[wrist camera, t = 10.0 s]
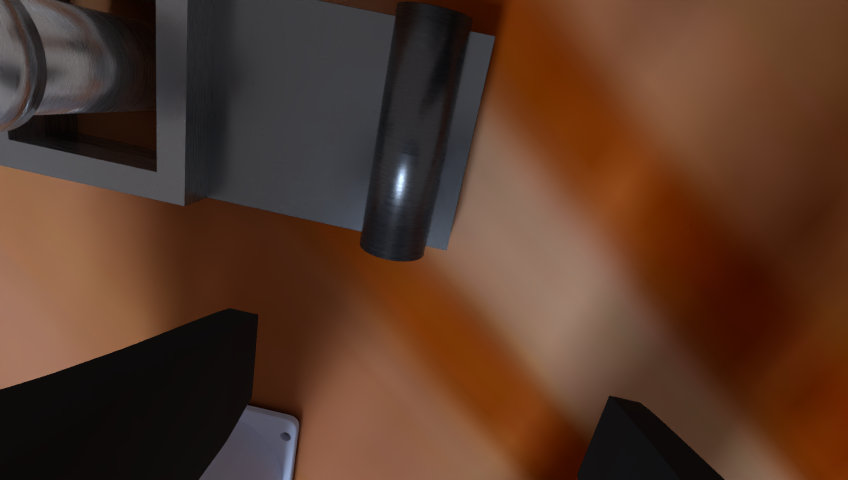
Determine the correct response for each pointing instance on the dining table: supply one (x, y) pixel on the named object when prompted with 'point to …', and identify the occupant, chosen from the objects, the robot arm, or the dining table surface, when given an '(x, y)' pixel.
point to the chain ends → (295, 117)
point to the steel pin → (72, 61)
